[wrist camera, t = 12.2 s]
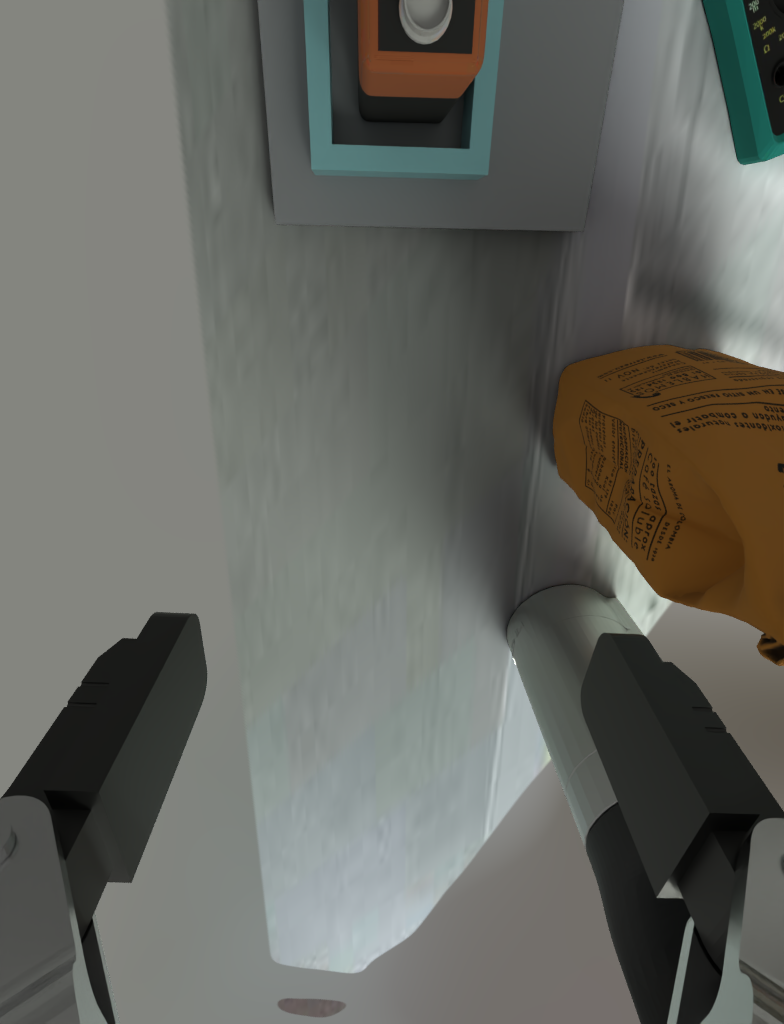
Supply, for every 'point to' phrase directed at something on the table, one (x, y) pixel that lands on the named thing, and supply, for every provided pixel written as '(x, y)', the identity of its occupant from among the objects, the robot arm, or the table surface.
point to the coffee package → (684, 474)
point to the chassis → (446, 145)
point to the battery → (417, 56)
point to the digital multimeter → (751, 73)
